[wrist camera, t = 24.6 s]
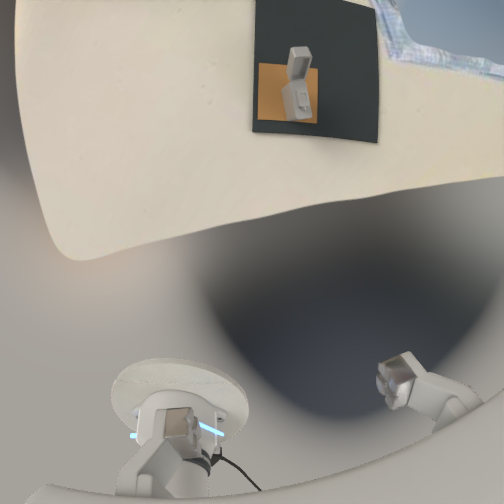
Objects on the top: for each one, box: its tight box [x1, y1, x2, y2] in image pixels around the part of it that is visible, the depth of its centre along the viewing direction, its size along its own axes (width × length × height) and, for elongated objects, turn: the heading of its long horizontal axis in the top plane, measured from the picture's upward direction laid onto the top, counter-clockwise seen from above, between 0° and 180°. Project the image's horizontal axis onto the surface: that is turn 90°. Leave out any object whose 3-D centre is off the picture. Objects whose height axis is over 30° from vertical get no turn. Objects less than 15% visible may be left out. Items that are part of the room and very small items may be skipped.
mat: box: [252, 0, 379, 143], centre depth 30 cm, size 20×16×1 cm
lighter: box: [281, 46, 312, 122], centre depth 27 cm, size 7×2×8 cm, turn 11°
